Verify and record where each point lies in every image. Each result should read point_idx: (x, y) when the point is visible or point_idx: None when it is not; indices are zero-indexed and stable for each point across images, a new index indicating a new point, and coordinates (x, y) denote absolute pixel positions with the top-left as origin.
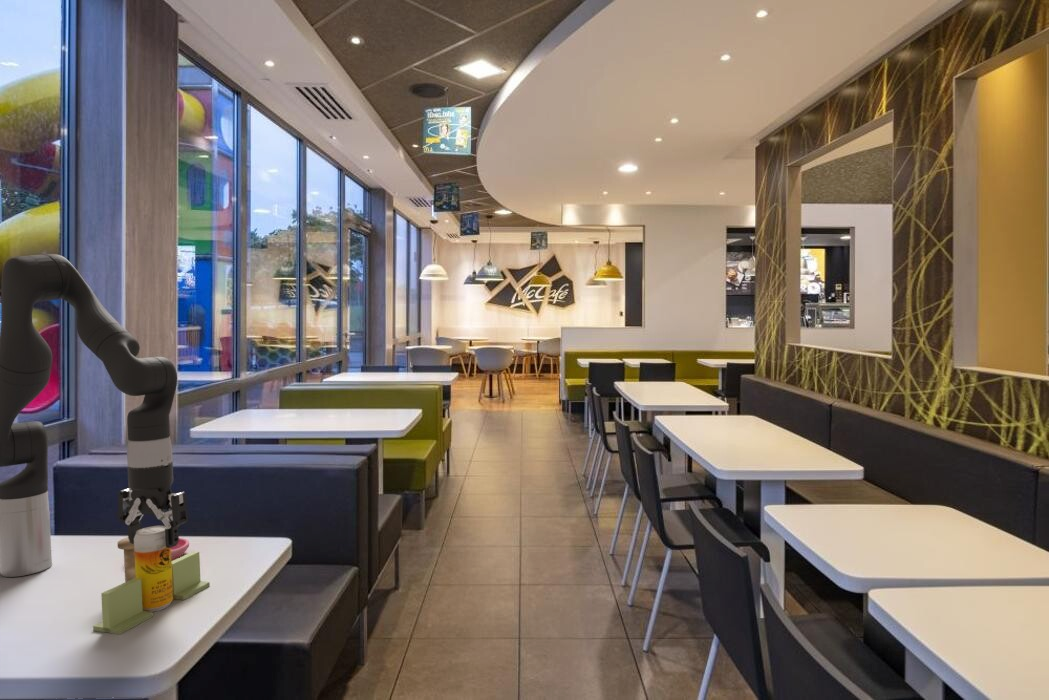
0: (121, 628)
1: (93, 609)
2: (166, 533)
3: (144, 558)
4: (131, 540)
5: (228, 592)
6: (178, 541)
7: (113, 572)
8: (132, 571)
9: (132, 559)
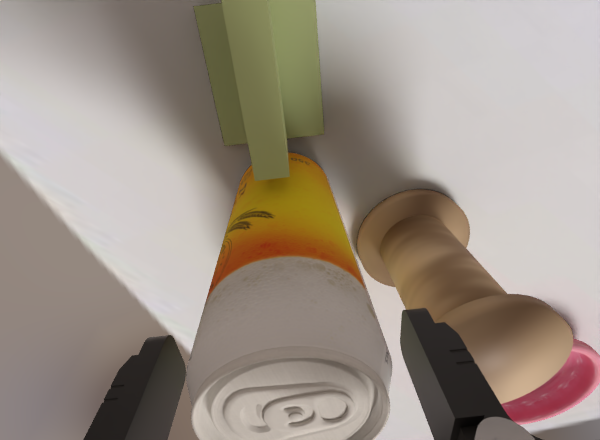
0: (199, 18)
1: (451, 115)
2: (123, 418)
3: (249, 243)
4: (417, 321)
5: (184, 303)
6: (513, 415)
7: (574, 287)
8: (430, 253)
9: (447, 282)
